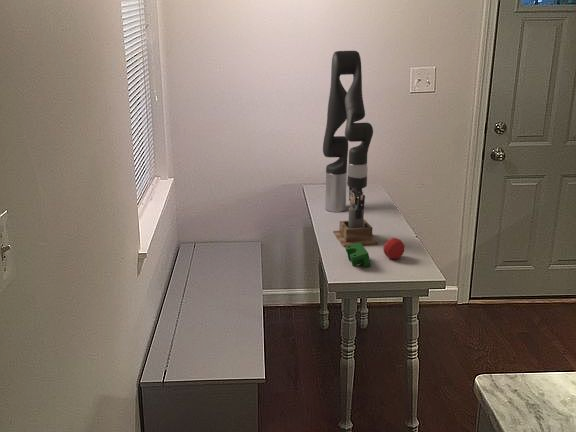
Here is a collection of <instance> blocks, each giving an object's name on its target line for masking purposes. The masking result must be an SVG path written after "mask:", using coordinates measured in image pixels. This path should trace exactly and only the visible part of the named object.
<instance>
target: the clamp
mask: <svg viewBox="0 0 576 432" xmlns="http://www.w3.org/2000/svg"><path fill="white" fill-rule="evenodd" d="M344 249H345V251H346V253H347V258H348V261H350V262H351V266H353V267H355V266H358V265H363V266H364V267H363V268H368V267H371V266H372V264H371V259H370V255H369V251H367V249H366V248H365V247H364V246H363V245H362V244H361V243H360V242H358V243H355V244H351V245H348V246H346V247H344Z"/></svg>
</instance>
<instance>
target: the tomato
mask: <svg viewBox="0 0 576 432" xmlns="http://www.w3.org/2000/svg"><path fill="white" fill-rule="evenodd" d="M382 248H383V249H382V250H383V253H384V255H385V256H386V257H387V258H389V259H391V260H396V259H399V258H400V257H402V256H403V254H404V253H405V244H404V242H403V241H402V240H401V239H399V238H396V237H391V238H389V239H388V240H386V242H385V243H384V246H383V247H382Z"/></svg>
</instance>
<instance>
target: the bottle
mask: <svg viewBox="0 0 576 432" xmlns="http://www.w3.org/2000/svg"><path fill="white" fill-rule="evenodd" d="M356 201H358V200H356ZM349 205H350V206H349V208H348V220H347V221H348V228H363V220H365V219H364V218H365V217H364V215H365V208H364V209H362V214H361V219H356V218H355V215H356V206H355V204H354V198H353V197H351V201H349ZM359 206H360V205H359Z"/></svg>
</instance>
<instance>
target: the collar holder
mask: <svg viewBox="0 0 576 432" xmlns="http://www.w3.org/2000/svg"><path fill="white" fill-rule="evenodd" d="M348 221H349V220H339V229H338V230H333V231H332V232H333V233H334V234H333V233H332V234H333V235H334V236H335V237H336V239H337V240H338V242H339V243H340V244H341V246H342V247H343V248H345V247H346V246H348V245H351V244H355V243H358V242H360V243H361V244H362V245H363V247H364V246H365V247H366V246H379V244H380V243H379V241H378V240H377V239H376V238H375V236H374V235H373V227H372V226H371V224H370V223H368V222H367V220H366V219H363V228H348Z"/></svg>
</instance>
